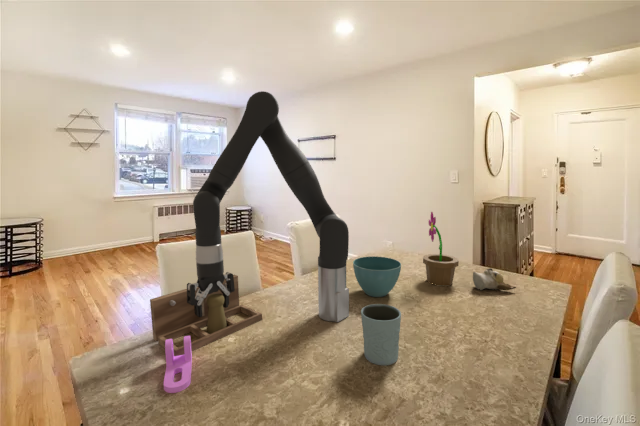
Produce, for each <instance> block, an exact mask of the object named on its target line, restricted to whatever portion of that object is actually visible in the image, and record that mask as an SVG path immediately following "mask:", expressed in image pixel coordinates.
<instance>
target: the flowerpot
mask: <svg viewBox="0 0 640 426" xmlns="http://www.w3.org/2000/svg"><path fill="white" fill-rule="evenodd" d="M436 219H437V218H436V216H434V212H433V211H430V219H428V226H429V227H430V228H429V230H428V237H430V239H431V242H434V239H435V235H437V236H438V241H439V246H438V250H439V253H432V254H431V253H430V254H426V255H423V257H422V264H424V265H425V271H426V281H428V282H427V283H429V282H430V283H433V284H436V285H435V286H437V285H449V286H451V285H450V284H452V285H453V283H454V281H453V280H454V277H455V272H456V268H458V266H459V264H460V263H459V261H460V260H459V258H458V257H455V256H453V255H447V254H443V242H442V235H441V233H440V231H439V229H438V227H437V226H436V222H437V220H436ZM430 283H429V284H430ZM433 284H432V285H433Z"/></svg>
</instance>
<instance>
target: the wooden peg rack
mask: <svg viewBox="0 0 640 426" xmlns="http://www.w3.org/2000/svg"><path fill="white" fill-rule="evenodd" d="M233 278H234V287H235V291H234V292H231V293H230V295H229V305H228V307H227V308H225V307H223V308H224V313H225V318H226V323H227V327H226V328H223V329H221V330H219V331H216V332H214V333H212V334H208V333H207V331H205V330H203V329H202V328H205V327H207V321H208V308H209V307H208V306H207V303H206V300H207V297H208V296H209V295H212V294H222V295H223V293H222V292H221V291H220V290H218V292H213V293H211V294H207V296H206V298H204V299H203V301H202V303H201V305H202V317H198V316H197V315H195V311H194V305H193V306H192V305H190V304H188V303H187V288H184V289H181V290H177V291H174V292H171V293H167V294H164V295H161V296H157V297H153V298H151V299H149V303H150V304H149V305H150V306H149V307H150V314H151V325H152V326H151V327H152V339H153V340H154V341H155V342H158V344H159V345H160V346H161V347H162V348H164V349H165V341H166V340H167V339H173V340H175V339H177V338H180V337H182V336H183V337H184V336H186V335H187V334H191V333H192V334H193V335H195V336H196V337H197V338H198V339H196V340H193V341H191V351H192V352H194V351H196V350H197V349H198V350H199V349H200V348H202V347H204V346H207V345H208V344H209V345H210V344H211V343H213V342H215V341H218V340H219V339H222V338H224V337H227V336H228V335H231V334H234V333H235V332H237V331H240V330H242V329H245V328H247V327H250V326H251V325H254V324H255V323H258V322H261V321H262V320H263V313H261V312H260V311H256V310H254V309H252V308H250V307H248V306H246V305H244V304H240V293H239V292H240V291H239V289H240V288H239V275H237V274H233ZM223 285H224V286H225V287H226V289H227V284H226V280H224V282H223ZM198 289H199V287H197V288H196V291H195V297H196V293H197V291H198ZM202 294H203V291H202ZM241 313H243V314H245V315H247V316H248V317H247V318H245V319H243V320H240V321H238V322H236V321H234V320H231V319H230V318H229V317H232V316H234V315H238V314H241ZM173 350H174V356H179V355H184V354H185V353H184V344H183V345H181V346H179V347H177V346H176V344H174V343H173Z"/></svg>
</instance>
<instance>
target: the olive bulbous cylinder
mask: <svg viewBox="0 0 640 426" xmlns="http://www.w3.org/2000/svg"><path fill="white" fill-rule="evenodd" d="M206 303H207V306H208V307H209V308H208V321H207V326H206V333H208V334H212V333H214V332H216V331H219V330H221V329H223V328H226V327H227V323H226V318H225V313H224V308H223V304H224V296H223V295H222V294H212V295H209V296H208V297H207V300H206Z"/></svg>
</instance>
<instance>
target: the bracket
mask: <svg viewBox="0 0 640 426" xmlns="http://www.w3.org/2000/svg"><path fill="white" fill-rule="evenodd" d="M173 340H174V339H167V340H166V341H165V348H164V352H165V364H166V368H165V373H164V377H163V378H164V379H163V390H164V392H166V393H168V394H169V393H171V394H176V393H179V392H182V391H184V390H186V389H187V388H188V387H189V386H190V385H191V381H192V363H193V355H192V353H193V351H191V342H192V340H191V335H183V345H184V353H185V354H184V355H179V356H174V350H173V344H174V341H173ZM179 373H180V374H181V378H180V380H179V381H174V380H175V375H176V374H179Z"/></svg>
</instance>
